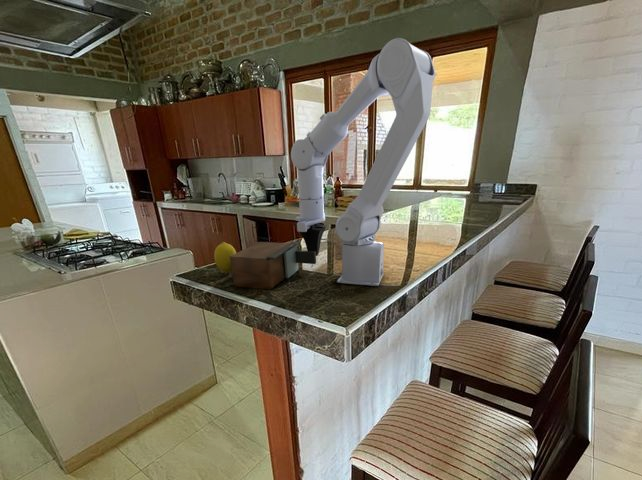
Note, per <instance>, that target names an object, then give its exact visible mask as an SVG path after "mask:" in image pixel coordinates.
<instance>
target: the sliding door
mask: <svg viewBox="0 0 642 480" xmlns="http://www.w3.org/2000/svg"><path fill="white" fill-rule="evenodd" d="M284 261H285V273H286V277H285V279H289V278H290V277H292V276H293V275H294V274H295V273H296V272H297V271H299V267H300V266H299V264H307V265H316V264H317V256H316V251H307V250H301V249H299V250H298V244H297V245H296V246H294V247H293V248H291V249H290V250H288V251H286V252H285V253H284Z"/></svg>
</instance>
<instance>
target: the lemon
mask: <svg viewBox="0 0 642 480" xmlns="http://www.w3.org/2000/svg"><path fill="white" fill-rule="evenodd" d="M236 253H237V251H236V249H235V248H234V247H233V245H232V244H230V243H226V242H225V241H222V242H221V243H219V244H218V245H217V246H216V247H215V249H214V254H213V255H214V263H215V265H216V267H217V268H218V269H219V270H220V271H222V272H225V273H226V274H230V273H232V268H231V262H230V256H232V255H234V254H236Z"/></svg>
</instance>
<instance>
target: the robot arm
mask: <svg viewBox="0 0 642 480" xmlns="http://www.w3.org/2000/svg"><path fill="white" fill-rule="evenodd" d="M436 76H437V73H436V70H435V66H434V63H433V59H432V57H431V55H430V53H428V52H427V51H426V50H423V49H421V48H418V47H416V46H415V45H413V44H411V43H410V42H409V41H408V40H407V39H405V38H402V37H395V38H393V39H391V40H389V41H388V42H387V43H386V44H385V45H384V46H383V47H382V49H381V50H380V52H379V53H378V54H377V55H375V56H374V57H373V58H372V60H371V61H370V65H369V66H368V69H367V71H366V73H365V74H364V75H363V77H362V78H361V79H360V80H359V82H358V83H357V85H355V87H354V88H353V90H352V91H351V92H350V93H349V95H348V96H347V97H346V98H345V100H344V101H343V102H342V104H341V105H340V106H339V107H338V109H337V110H336V111H327V113H322V114H321V116H320V117H319V120H320V121H319V122H318V123H317V124H316V126H315V127H313V128H312V130H311V131H308V133H307V134H306V137H305V138H304V139H301V138H300V139H297V140H295V141H294V143H293V145H292V147H291V150H290V158H291V162H292V165H293V166H294V167H295V168H296V170H297V172H296V173H297V189H298V190H297V191H298V207H299V216H296V217H295V222H296V221H297V223H296V231H297V232H298V233H300V235H301V236H302V239H303V241H304V243H305V247H306V251H316V257H317V256H319V254H320V250H321V249H320V248H321V243H322V239H323V235H324V232H325V230H326V228H327V225H326V224H320V223H323V222H326V213H325V209H324V204H325V203H324V174H325V166H326V164H327V163H328V159H329V155H330V154H331V153H332V152H333V151H334V150H335V148H337V147H338V146H339V145H340V144H341V142H342V141H343V140H345V139H346V137H347V136H348V132H349V125H351V124H352V123H353V122H354V121H355V120H356V119H357V118H358V117H359V116H360V115H361V114H362V113H363V112H364V111H366V110H367V109H368V107H370V106H371V105H372V104H373V103H374V102H375V101H376V100H377V99H378V98H379V97H385V96H390V97H391V100H392V104H393V107H394V110H395V118H394V119H393V122H392V123H391V126H390V127H389V130H388V132H387V134H386V137H385V139H384V141H383V143H382V144H381V147H380V149H379V151H378V153H377V156H376V157H375V160H374V162H373V164H372V166H371V168H370V170H369V172H368V175H367V177H366V179H365V181H364V183H363V185H362V187H361V189H360V190H359V193H358V195H357V196H356V197H355V198H354V199H353V200H352V201H351V202H350V203H349V204H348V205H347V207H346V210H345V211H344V212H343V213H342V214H341V215H339V216H338V218H337V219H336V221H335V233H336V235H337V238H338V239H339V240H340V244H341V275H340V277H338V279H337V280H336V283H338V284H347V285H360V286H371V287H379V285H380V283H381V281H382V279H383V276H384V260H385V259H384V258H385V244H384V243H383V242H377V241H375V239H376V237H375V236H376V234H377V233H378V232H379V230H380V227H381V219H382V216H383V214H384V212H385V210H384V207H383V204H384V203H385V200H387V197H388V196H389V193H390V191H391V190H392V188H393V185H394V184H395V182H396V181H397V178H398V177H399V175H400V173H401V171H402V169H403V167H404V166H405V164H406V161H407V160H408V158H409V156H410V154H411V151H412V150H413V148H414V146H415V145H416V142H417V141H418V139H419V137H420V135H421V133H422V132H423V130H424V128H425V126H426V124H427V123H428V121H429V118H430V116H431V108H432V95H433V84H434V81H435V78H436Z"/></svg>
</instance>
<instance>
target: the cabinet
mask: <svg viewBox="0 0 642 480" xmlns="http://www.w3.org/2000/svg"><path fill="white" fill-rule="evenodd" d="M299 243H300V242H299V241H290V242H271V241H270V242H269V241H258V242H255V243H254V244H252V245H250V246H248V247H246V248H244V249H241V250H240V251H238V252H236V254H234V255H232V256H230V262H231V268H232V271H231V274H232V281H233V286H234V287H238V288H239V287H241V288H251V289H263V290H271V289H273V288H274V287H276V286H277V285H278V284H279V283H281V282H282V281H283V280H284V279H285V278H286V273H285V261H284V253H285V252H286V251H288V250H290V249H291V248H293V247H294V246H296V245H297V246H298V245H299Z"/></svg>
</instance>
